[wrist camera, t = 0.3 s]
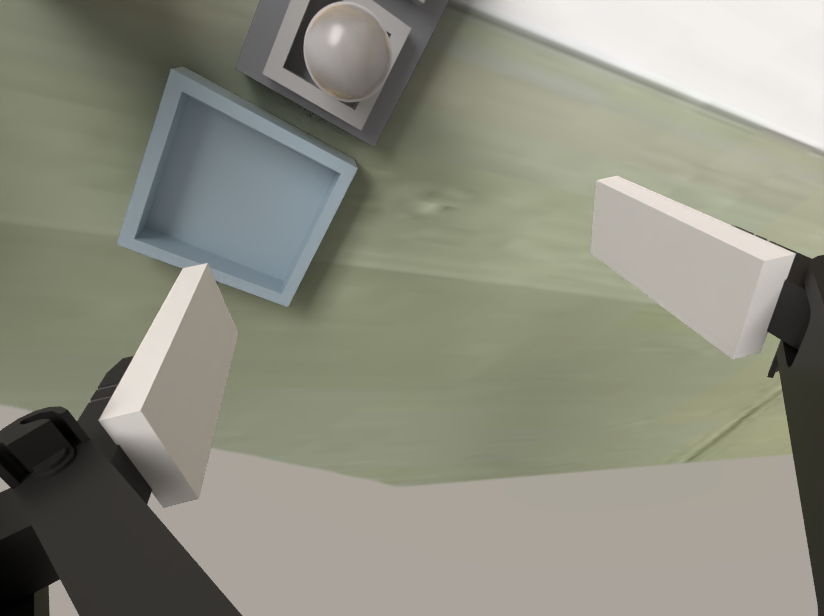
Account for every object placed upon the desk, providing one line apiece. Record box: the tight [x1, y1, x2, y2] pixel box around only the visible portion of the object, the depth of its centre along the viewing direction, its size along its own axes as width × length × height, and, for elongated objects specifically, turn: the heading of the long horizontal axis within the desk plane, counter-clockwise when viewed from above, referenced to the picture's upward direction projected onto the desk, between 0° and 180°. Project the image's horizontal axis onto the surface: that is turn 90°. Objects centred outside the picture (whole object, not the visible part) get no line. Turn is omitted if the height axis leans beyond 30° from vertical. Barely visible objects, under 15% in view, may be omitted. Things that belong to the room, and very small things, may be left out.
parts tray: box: [117, 66, 358, 307], centre depth 36 cm, size 14×14×4 cm
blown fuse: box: [304, 1, 392, 102], centre depth 26 cm, size 4×4×12 cm
